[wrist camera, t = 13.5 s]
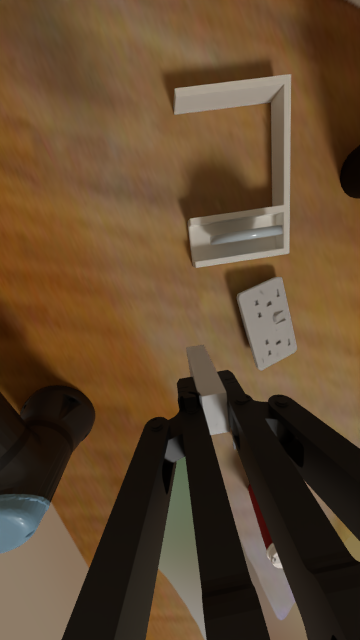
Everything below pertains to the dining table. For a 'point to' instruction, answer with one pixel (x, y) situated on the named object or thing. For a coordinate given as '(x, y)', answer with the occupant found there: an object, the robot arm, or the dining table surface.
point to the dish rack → (279, 213)
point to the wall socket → (267, 322)
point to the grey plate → (246, 234)
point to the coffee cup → (265, 532)
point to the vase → (351, 174)
